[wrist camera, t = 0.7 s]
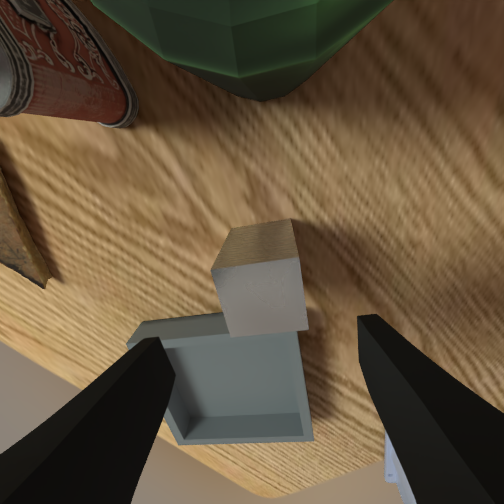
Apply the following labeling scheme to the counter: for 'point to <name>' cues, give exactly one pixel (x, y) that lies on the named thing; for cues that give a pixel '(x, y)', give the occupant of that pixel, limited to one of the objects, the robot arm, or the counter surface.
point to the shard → (19, 241)
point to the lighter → (60, 66)
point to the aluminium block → (261, 280)
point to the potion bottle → (245, 37)
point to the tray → (231, 382)
